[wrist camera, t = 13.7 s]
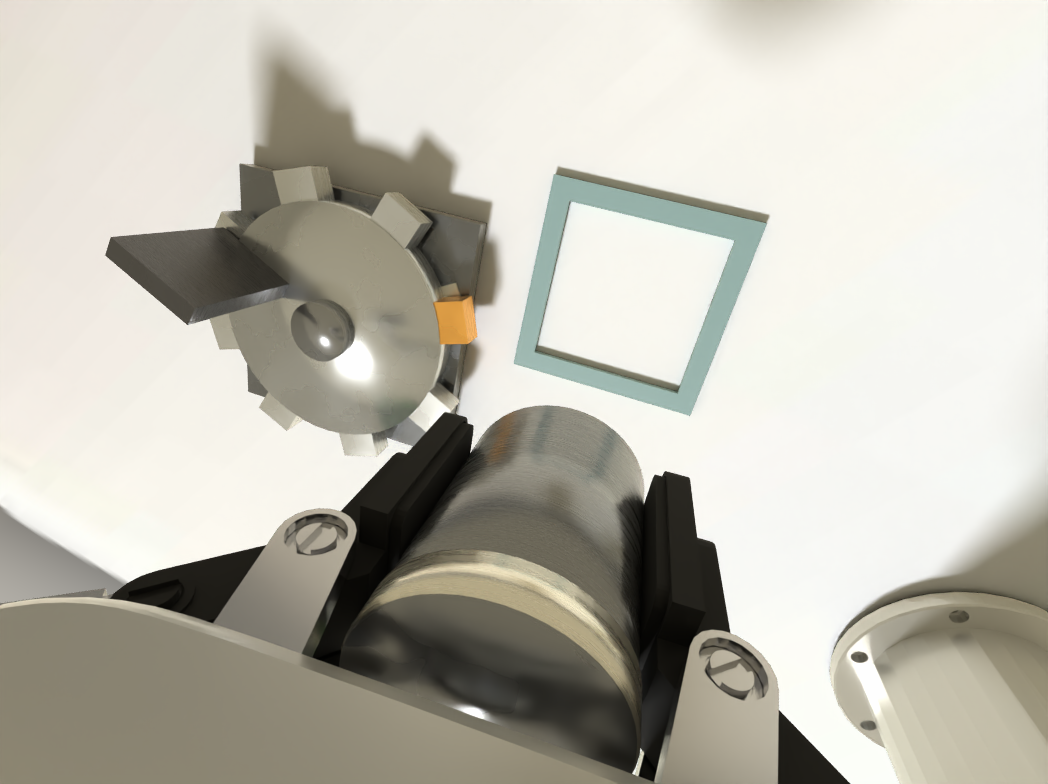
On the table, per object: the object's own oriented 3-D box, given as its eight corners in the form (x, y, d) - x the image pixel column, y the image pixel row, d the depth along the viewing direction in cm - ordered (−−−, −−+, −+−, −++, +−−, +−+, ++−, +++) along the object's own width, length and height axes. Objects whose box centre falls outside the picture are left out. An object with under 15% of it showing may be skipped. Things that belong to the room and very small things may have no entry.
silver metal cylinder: (670, 431, 11) (684, 668, 6) (620, 577, 13) (596, 856, 8) (481, 383, 12) (335, 554, 6) (460, 528, 14) (335, 754, 8)
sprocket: (293, 96, 24) (150, 60, 17) (535, 313, 25) (489, 359, 18) (191, 326, 31) (61, 365, 25) (383, 489, 32) (310, 569, 26)
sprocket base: (486, 223, 26) (479, 224, 24) (449, 448, 31) (442, 457, 30) (253, 164, 28) (237, 163, 27) (259, 386, 33) (247, 392, 32)
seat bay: (765, 223, 22) (766, 223, 22) (689, 413, 27) (690, 415, 26) (555, 174, 24) (554, 174, 24) (515, 362, 28) (513, 363, 28)
